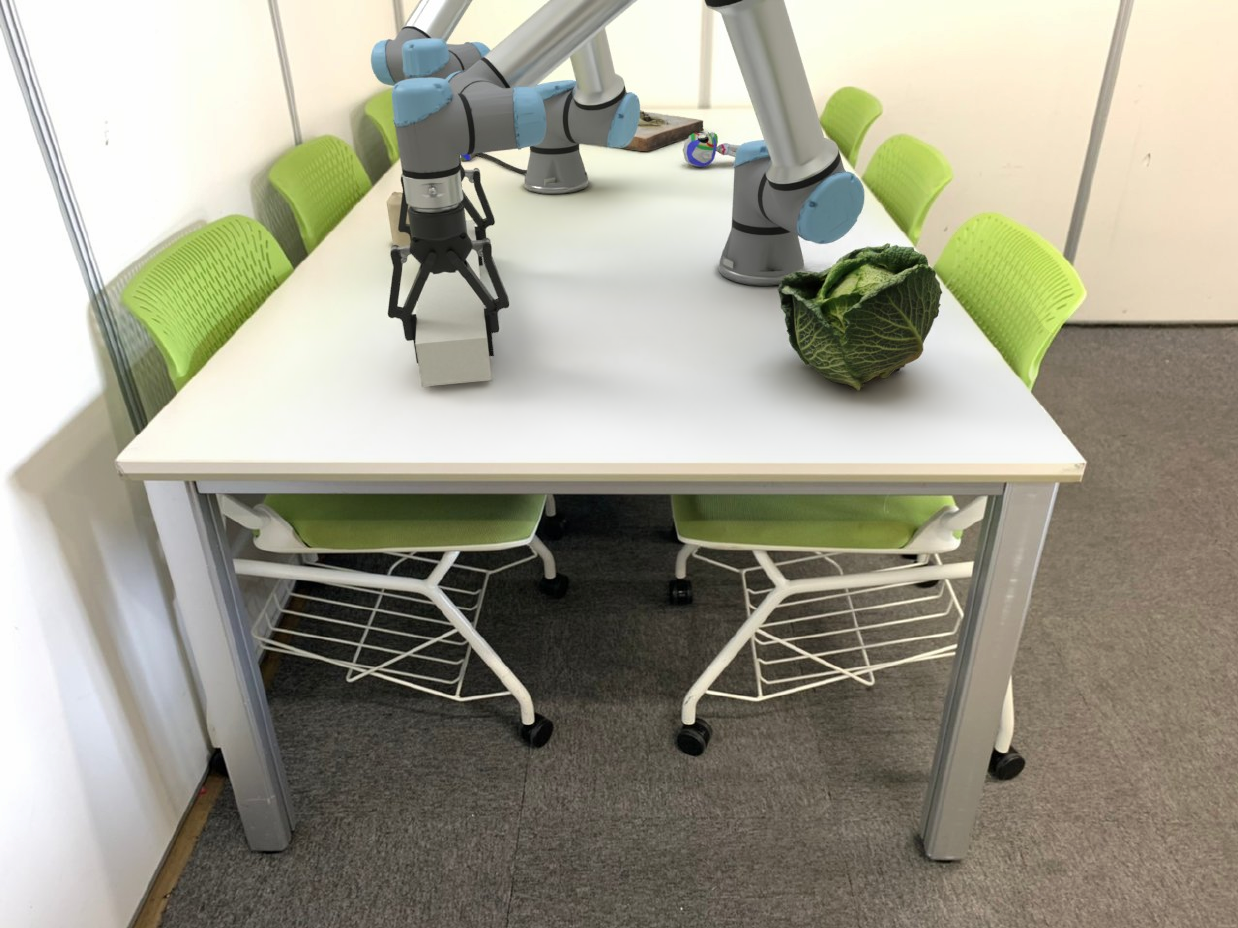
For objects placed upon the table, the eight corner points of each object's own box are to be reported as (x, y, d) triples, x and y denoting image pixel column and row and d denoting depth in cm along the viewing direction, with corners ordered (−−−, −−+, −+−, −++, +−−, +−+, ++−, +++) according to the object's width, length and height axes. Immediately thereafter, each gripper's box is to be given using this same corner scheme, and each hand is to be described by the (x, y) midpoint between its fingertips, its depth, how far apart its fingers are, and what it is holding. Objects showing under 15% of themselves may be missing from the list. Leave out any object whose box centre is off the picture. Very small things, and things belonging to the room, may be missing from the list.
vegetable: (807, 399, 136) (749, 288, 129) (909, 328, 138) (857, 214, 130) (877, 433, 118) (813, 305, 110) (993, 351, 119) (938, 219, 112)
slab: (426, 257, 171) (421, 223, 167) (477, 253, 172) (473, 219, 169) (422, 387, 125) (415, 343, 122) (491, 380, 126) (487, 337, 123)
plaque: (647, 125, 237) (559, 112, 252) (647, 153, 241) (560, 139, 256) (706, 107, 258) (622, 97, 273) (705, 133, 262) (622, 121, 277)
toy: (807, 147, 224) (690, 133, 219) (799, 181, 228) (684, 168, 224) (796, 138, 233) (684, 124, 228) (789, 171, 237) (678, 158, 232)
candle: (425, 240, 182) (419, 190, 176) (411, 248, 177) (404, 198, 172) (401, 237, 183) (394, 188, 178) (387, 246, 179) (379, 195, 174)
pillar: (486, 135, 252) (468, 152, 235) (487, 143, 253) (468, 161, 236) (479, 135, 252) (460, 152, 236) (480, 143, 253) (461, 160, 237)
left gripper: (367, 149, 148) (389, 277, 160) (503, 140, 151) (514, 267, 163) (370, 138, 154) (391, 263, 166) (500, 131, 157) (511, 254, 169)
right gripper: (347, 219, 115) (376, 374, 127) (521, 206, 118) (533, 359, 130) (352, 202, 122) (379, 352, 134) (516, 191, 124) (529, 338, 136)
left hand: (452, 265), depth 165 cm, fingers closed on slab, 10 cm apart
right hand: (455, 355), depth 132 cm, fingers closed on slab, 10 cm apart
